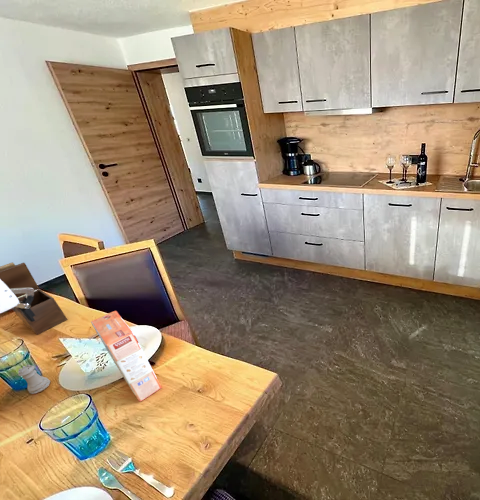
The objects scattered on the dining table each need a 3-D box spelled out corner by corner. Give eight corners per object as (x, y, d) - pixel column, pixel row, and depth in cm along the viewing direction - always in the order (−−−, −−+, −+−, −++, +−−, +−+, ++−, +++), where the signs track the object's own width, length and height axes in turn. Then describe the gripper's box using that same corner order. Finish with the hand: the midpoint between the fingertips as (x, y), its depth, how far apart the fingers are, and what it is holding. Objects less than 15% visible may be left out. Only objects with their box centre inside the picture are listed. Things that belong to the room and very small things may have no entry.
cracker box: (163, 387, 80) (133, 331, 70) (139, 403, 76) (104, 346, 66) (145, 362, 88) (116, 308, 78) (122, 375, 84) (88, 321, 74)
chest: (67, 319, 107) (53, 297, 102) (37, 335, 101) (20, 312, 96) (53, 310, 113) (39, 289, 108) (24, 324, 106) (7, 302, 101)
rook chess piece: (30, 387, 82) (13, 368, 78) (51, 377, 84) (35, 358, 81) (29, 397, 79) (12, 378, 75) (51, 387, 81) (35, 368, 78)
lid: (25, 263, 100) (17, 256, 101) (-11, 275, 93) (-19, 268, 94) (39, 288, 107) (32, 282, 109) (7, 302, 101) (0, 295, 102)
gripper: (7, 256, 75) (43, 308, 83) (-104, 293, 62) (-48, 350, 70) (18, 262, 72) (55, 315, 80) (-97, 302, 59) (-39, 361, 67)
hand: (7, 331), depth 75 cm, fingers open, 9 cm apart
